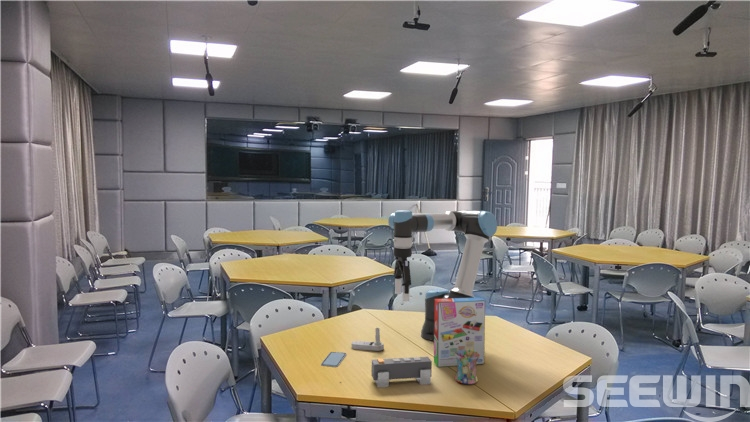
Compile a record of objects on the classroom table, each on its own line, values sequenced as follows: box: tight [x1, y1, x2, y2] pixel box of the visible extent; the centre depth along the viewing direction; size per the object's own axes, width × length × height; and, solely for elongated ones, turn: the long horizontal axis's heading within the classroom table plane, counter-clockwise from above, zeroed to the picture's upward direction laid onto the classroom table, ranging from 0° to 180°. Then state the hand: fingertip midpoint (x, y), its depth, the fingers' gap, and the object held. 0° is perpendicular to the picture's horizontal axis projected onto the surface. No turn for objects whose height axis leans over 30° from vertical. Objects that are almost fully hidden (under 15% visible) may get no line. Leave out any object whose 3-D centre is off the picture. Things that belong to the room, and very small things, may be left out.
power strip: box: [371, 356, 433, 382], centre depth 179 cm, size 22×5×7 cm, turn 101°
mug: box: [454, 350, 480, 385], centre depth 179 cm, size 12×9×11 cm
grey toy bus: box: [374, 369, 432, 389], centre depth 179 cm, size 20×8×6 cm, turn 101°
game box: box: [433, 296, 486, 368], centre depth 198 cm, size 21×6×27 cm, turn 100°
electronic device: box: [351, 327, 385, 352], centre depth 215 cm, size 5×10×15 cm
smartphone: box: [320, 351, 347, 368], centre depth 201 cm, size 7×1×15 cm
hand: (401, 297), depth 201 cm, fingers open, 13 cm apart
